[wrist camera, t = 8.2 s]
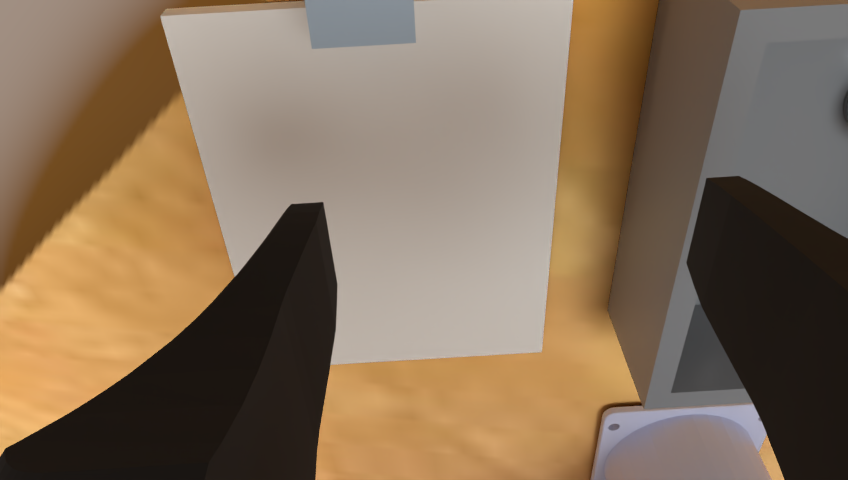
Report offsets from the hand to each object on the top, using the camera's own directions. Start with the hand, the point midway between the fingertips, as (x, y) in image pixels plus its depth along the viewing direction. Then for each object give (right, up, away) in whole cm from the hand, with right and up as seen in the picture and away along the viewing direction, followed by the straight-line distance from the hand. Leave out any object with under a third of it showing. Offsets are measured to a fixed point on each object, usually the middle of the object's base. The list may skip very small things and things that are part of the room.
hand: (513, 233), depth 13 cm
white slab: (-3, +3, +10) cm, 11 cm away
